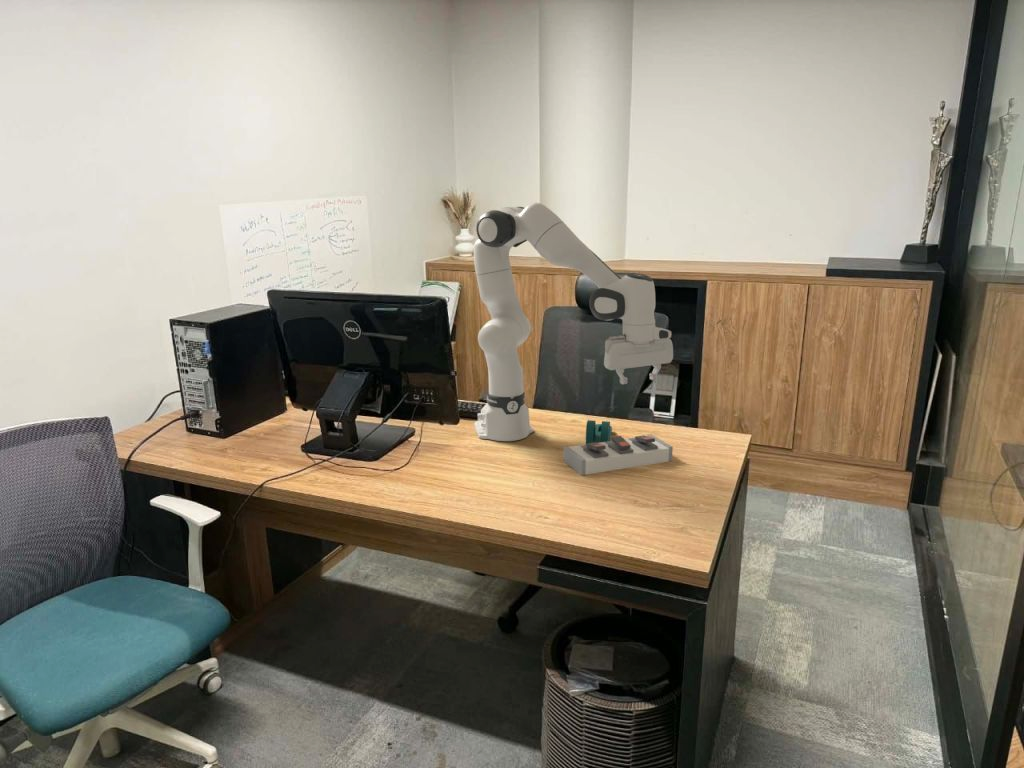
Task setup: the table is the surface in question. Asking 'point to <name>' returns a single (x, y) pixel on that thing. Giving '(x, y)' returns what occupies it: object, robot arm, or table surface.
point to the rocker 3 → (645, 439)
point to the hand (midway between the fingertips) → (638, 381)
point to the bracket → (598, 432)
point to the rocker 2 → (620, 442)
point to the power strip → (617, 456)
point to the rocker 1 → (595, 446)
